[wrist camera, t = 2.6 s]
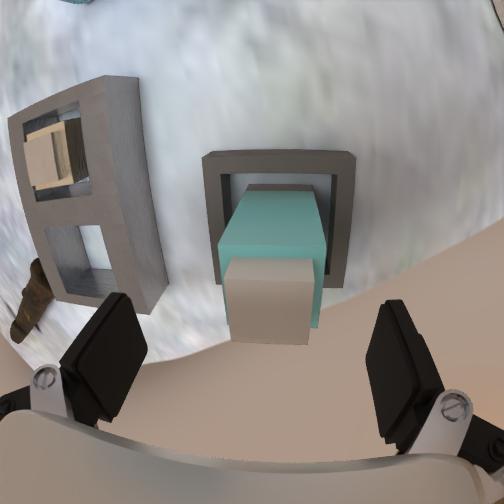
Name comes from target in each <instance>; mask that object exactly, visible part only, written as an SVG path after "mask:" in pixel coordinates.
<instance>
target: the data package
mask: <svg viewBox="0 0 504 504" xmlns="http://www.w3.org/2000/svg"><path fill="white" fill-rule="evenodd" d="M61 1H65V2H69V3H73V4H82V3H86V2H89V1H91V0H61Z"/></svg>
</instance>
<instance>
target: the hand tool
mask: <svg viewBox="0 0 504 504" xmlns="http://www.w3.org/2000/svg"><path fill="white" fill-rule="evenodd" d="M30 271H31V278H30V280H29V283H28V284H27V285H26V287H25V288H24V289H23V291H22V296H23V298H22V301H21V304H20V307H19V310H18V314H17V316H16V319H15V320H14V321H13V322H12V325H11V328H10V330H11V331H10V334H11V335H10V336H11V339H12V341H14V342H15V343H17V344H19V343H21V342H22V341H23V340H24V339H25V337H26V336H27V335H28V334H29V333H30V331H31V330H32V328H33V327H34V326H35V325H36V323H37V322H38V321H39V318H40V316H41V315H42V313H43V312H44V310H45V308H46V306H47V305H48V304H49V303H50V301H51V300H52V299H53V297H54V294H53V292H52V289H51V287H50V285H49V282H48V280H47V277H46V275H45V272H44V270H43V267H42V265H41V262H40V259H39V258H36V259H35V260H34V261H33V262H32V263H31V267H30Z"/></svg>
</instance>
